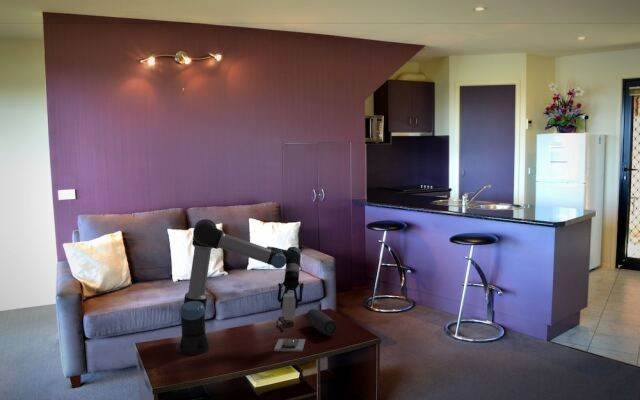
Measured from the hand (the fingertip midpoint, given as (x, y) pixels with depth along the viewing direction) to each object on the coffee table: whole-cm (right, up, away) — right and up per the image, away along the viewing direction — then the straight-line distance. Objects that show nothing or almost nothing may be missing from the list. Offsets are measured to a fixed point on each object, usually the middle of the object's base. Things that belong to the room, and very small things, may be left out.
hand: (288, 313), depth 264 cm
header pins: (0, -17, -1) cm, 17 cm away
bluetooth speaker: (+17, -15, +24) cm, 33 cm away
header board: (+1, -17, +3) cm, 17 cm away
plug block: (0, -3, +4) cm, 5 cm away
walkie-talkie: (-4, -15, +34) cm, 38 cm away
